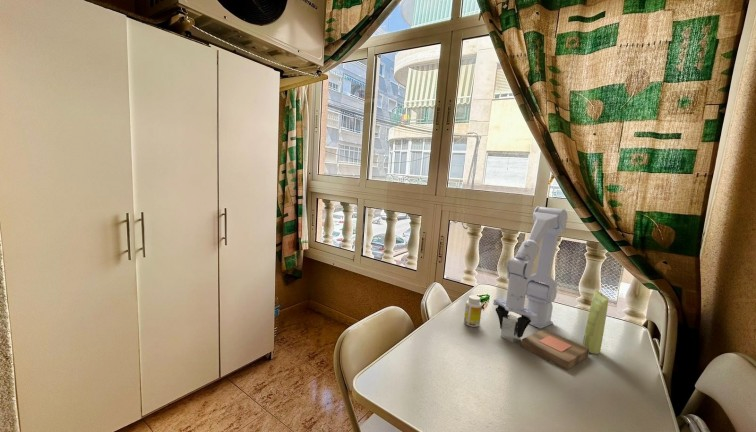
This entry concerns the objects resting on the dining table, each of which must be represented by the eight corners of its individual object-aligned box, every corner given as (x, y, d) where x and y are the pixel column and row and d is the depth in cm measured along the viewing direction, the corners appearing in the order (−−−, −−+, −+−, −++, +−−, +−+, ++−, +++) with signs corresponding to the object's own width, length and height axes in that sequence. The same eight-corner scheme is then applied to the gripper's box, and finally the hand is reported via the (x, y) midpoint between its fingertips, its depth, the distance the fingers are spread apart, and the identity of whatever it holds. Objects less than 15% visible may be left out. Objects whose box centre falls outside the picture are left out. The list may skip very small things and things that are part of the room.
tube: (605, 352, 100) (615, 294, 98) (598, 357, 98) (608, 297, 95) (585, 344, 105) (595, 288, 102) (578, 348, 102) (588, 291, 100)
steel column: (508, 333, 109) (510, 314, 108) (520, 339, 105) (523, 319, 105) (500, 336, 106) (503, 317, 106) (512, 342, 103) (515, 322, 102)
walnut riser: (543, 335, 109) (544, 328, 109) (587, 356, 98) (589, 348, 97) (521, 346, 101) (522, 338, 100) (567, 370, 90) (568, 361, 89)
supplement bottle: (482, 325, 114) (485, 298, 112) (473, 329, 110) (477, 301, 109) (469, 319, 118) (472, 293, 117) (460, 322, 114) (463, 296, 113)
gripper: (490, 288, 107) (485, 325, 109) (530, 304, 96) (525, 345, 98) (502, 285, 111) (497, 321, 113) (542, 300, 100) (536, 340, 102)
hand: (511, 332), depth 106 cm, fingers open, 6 cm apart
